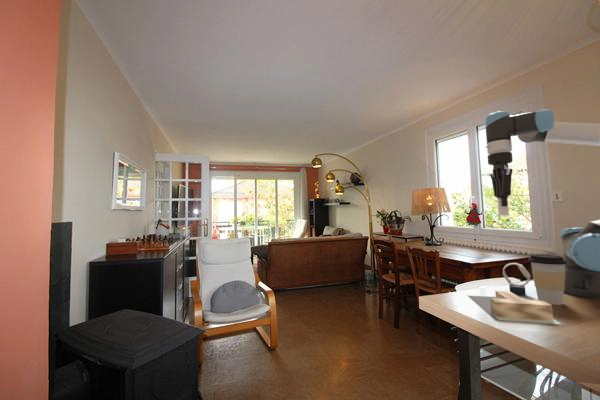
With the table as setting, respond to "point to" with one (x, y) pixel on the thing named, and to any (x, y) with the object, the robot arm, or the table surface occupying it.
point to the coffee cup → (548, 277)
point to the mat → (486, 306)
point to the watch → (517, 288)
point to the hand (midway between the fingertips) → (503, 215)
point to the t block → (519, 307)
